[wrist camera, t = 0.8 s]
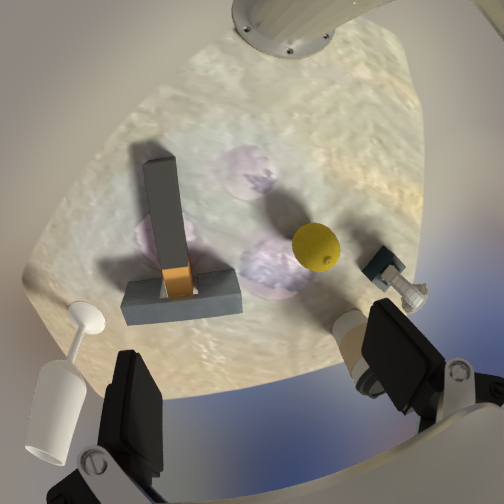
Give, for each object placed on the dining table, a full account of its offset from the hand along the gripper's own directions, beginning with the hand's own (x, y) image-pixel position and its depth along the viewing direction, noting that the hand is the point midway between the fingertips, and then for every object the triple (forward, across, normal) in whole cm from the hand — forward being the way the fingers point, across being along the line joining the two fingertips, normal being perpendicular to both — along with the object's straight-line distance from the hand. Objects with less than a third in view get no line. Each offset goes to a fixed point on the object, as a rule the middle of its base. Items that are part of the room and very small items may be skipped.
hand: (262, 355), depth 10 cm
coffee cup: (+25, -20, +26) cm, 42 cm away
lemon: (+25, -11, +7) cm, 28 cm away
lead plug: (+25, +6, +3) cm, 26 cm away
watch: (+25, -25, +14) cm, 38 cm away
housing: (+25, +6, +11) cm, 28 cm away
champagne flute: (+26, +23, +15) cm, 37 cm away
